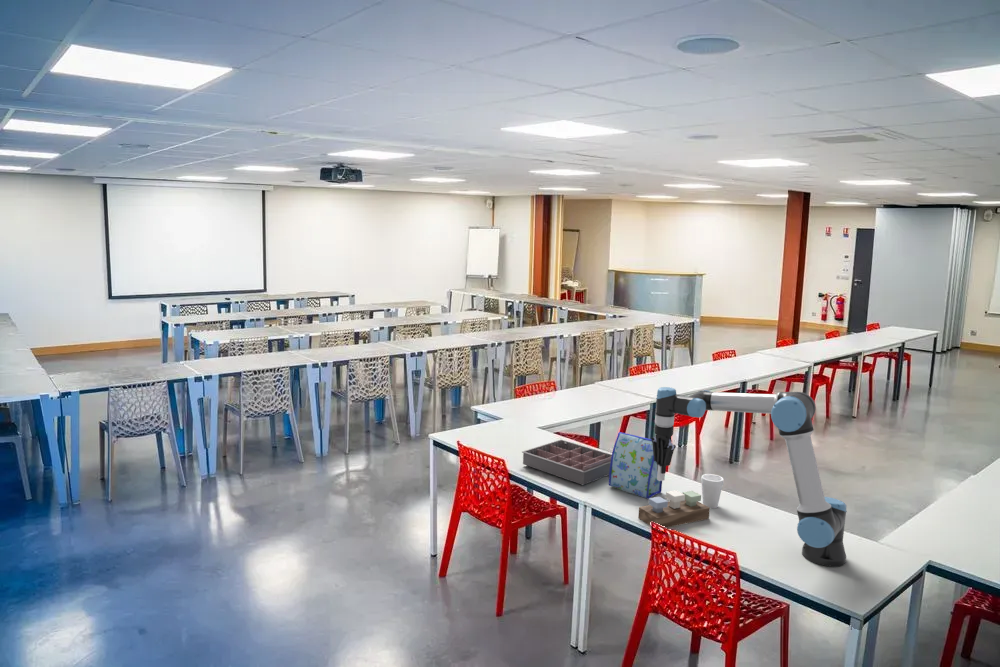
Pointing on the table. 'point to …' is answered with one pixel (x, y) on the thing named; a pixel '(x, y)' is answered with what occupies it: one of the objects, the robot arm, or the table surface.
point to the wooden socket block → (674, 514)
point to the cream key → (675, 498)
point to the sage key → (691, 498)
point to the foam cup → (711, 489)
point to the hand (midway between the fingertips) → (660, 480)
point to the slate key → (658, 504)
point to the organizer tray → (569, 461)
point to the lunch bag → (634, 466)
